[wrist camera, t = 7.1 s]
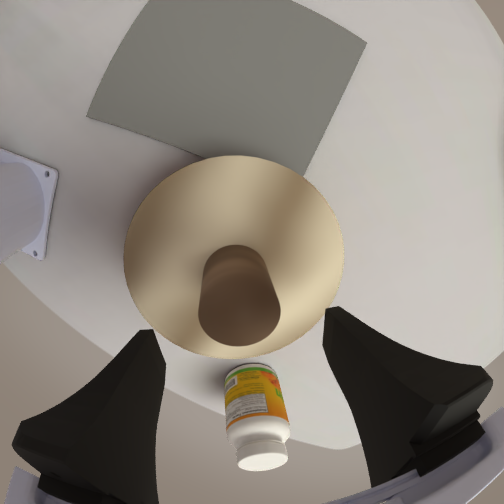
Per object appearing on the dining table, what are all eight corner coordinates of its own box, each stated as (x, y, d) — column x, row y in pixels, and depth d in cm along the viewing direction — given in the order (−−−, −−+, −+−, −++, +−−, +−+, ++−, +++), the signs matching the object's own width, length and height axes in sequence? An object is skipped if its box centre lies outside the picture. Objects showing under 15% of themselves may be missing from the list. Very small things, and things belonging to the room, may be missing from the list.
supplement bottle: (279, 390, 26) (298, 466, 17) (230, 399, 26) (236, 476, 17) (274, 357, 24) (295, 444, 15) (218, 367, 24) (220, 455, 15)
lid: (109, 311, 16) (83, 358, 12) (176, 117, 12) (154, 103, 8) (276, 368, 19) (288, 417, 15) (374, 218, 16) (420, 245, 11)
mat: (89, 117, 15) (86, 116, 14) (176, -30, 11) (176, -33, 10) (291, 195, 19) (292, 197, 18) (364, 44, 15) (367, 42, 14)
